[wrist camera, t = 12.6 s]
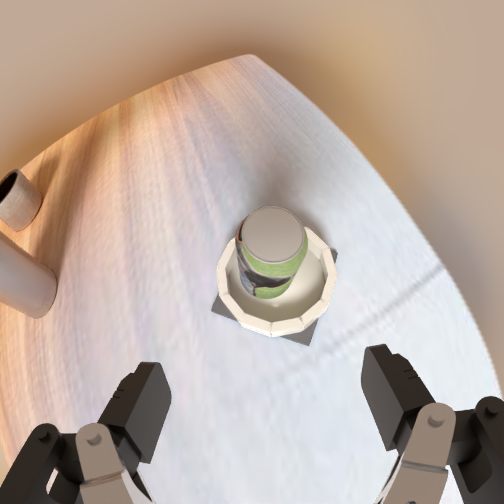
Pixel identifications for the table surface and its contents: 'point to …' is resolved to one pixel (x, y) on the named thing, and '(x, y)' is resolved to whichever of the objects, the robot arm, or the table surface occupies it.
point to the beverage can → (270, 251)
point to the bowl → (290, 302)
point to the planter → (18, 200)
